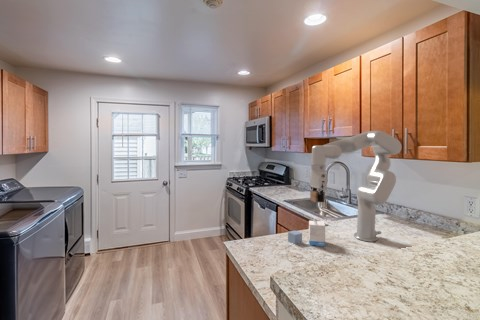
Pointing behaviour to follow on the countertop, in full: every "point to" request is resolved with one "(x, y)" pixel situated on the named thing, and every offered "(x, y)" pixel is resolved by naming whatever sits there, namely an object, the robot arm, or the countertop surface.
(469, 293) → the countertop surface
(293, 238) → the slate cube
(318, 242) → the ink box
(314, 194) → the walnut cube
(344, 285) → the countertop surface
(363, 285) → the countertop surface
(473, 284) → the countertop surface
